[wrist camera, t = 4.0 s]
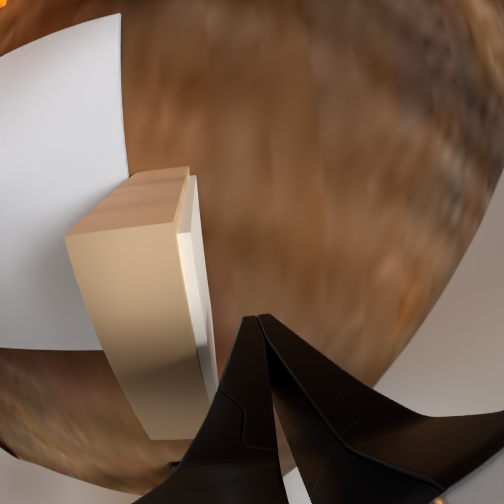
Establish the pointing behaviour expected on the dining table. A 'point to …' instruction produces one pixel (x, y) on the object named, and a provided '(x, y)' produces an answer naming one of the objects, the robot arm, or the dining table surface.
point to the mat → (55, 176)
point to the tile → (151, 298)
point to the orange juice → (2, 3)
